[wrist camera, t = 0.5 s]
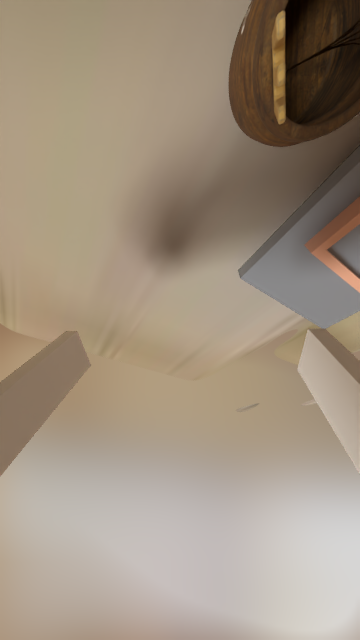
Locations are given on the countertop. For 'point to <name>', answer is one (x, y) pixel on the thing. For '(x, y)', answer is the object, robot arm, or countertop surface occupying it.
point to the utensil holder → (296, 69)
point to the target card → (316, 252)
